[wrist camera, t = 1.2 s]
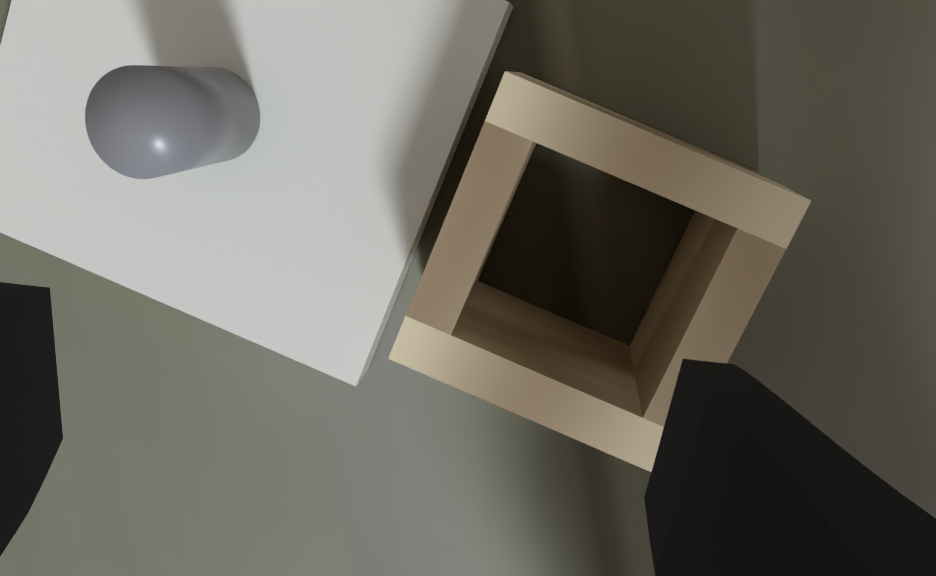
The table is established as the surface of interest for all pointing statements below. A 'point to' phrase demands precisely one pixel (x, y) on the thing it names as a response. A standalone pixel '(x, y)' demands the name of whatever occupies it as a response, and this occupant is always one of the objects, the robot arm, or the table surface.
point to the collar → (565, 342)
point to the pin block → (241, 152)
